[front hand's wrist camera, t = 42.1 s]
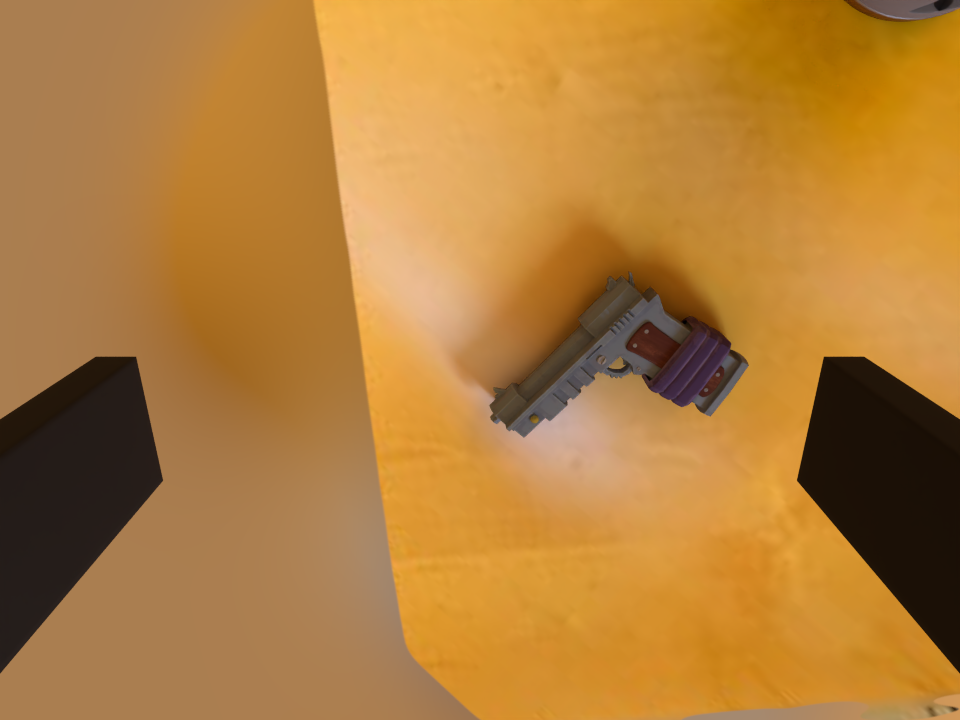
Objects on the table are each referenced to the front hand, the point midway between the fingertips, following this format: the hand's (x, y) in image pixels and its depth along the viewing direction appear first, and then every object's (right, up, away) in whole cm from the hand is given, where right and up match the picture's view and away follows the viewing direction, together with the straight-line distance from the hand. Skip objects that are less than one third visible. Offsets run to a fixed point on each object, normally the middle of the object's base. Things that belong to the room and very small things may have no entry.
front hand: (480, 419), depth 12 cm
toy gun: (+12, 0, +44) cm, 45 cm away
